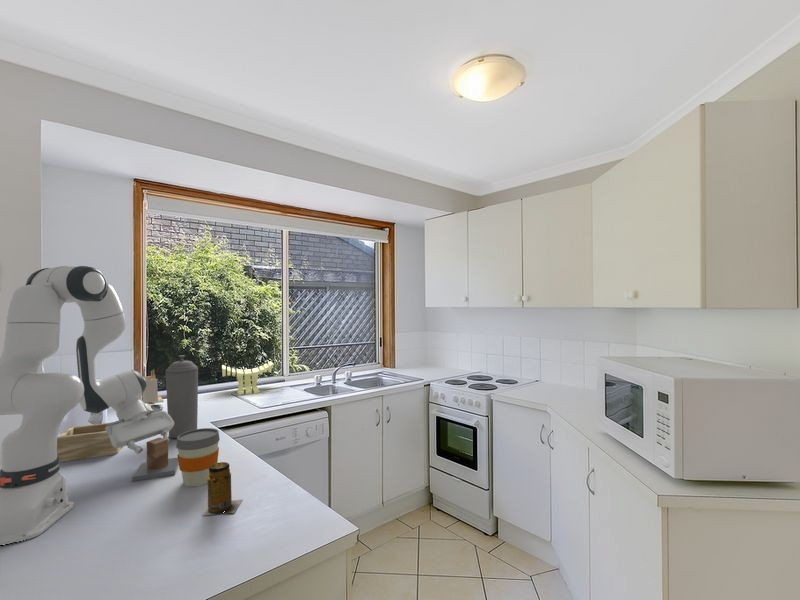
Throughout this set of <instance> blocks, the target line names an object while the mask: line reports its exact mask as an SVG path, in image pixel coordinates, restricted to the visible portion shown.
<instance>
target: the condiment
mask: <svg viewBox="0 0 800 600" xmlns="http://www.w3.org/2000/svg"><path fill="white" fill-rule="evenodd" d="M232 498H233V497H232V473H231V469H230V463H228V462H226V461H225V462H223V461H221V462H217V463H216V464H213V465H211V466H210V467H209V477H208V483H207V508H206V510H205V511H204V512H203V513H202V516H215V515H216V516H217V515H226V514H227V515H228V514H235V513H236V511H237V510H238V509H239V507H240V506H241V503H242V502H243V499H234V500H232ZM224 511H225V512H224ZM223 512H224V513H223Z"/></svg>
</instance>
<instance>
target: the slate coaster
mask: <svg viewBox="0 0 800 600" xmlns="http://www.w3.org/2000/svg"><path fill="white" fill-rule="evenodd" d="M178 468H179V463H178V457H173V458H168V465H167V466H164V467H162V468H160V469H157V470H153V469H148V468H147V461H145V462H141V463H140V464H139V466H138V468H137V469H136V471H135V473H134V474H133V476H132V482H138V481H144V480H150V479H156V478H163V477H169V476H174V475H176V473H177V471H178Z"/></svg>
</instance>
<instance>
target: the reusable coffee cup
mask: <svg viewBox="0 0 800 600" xmlns="http://www.w3.org/2000/svg"><path fill="white" fill-rule="evenodd" d="M220 438H221V437H220V433H219V430H218V429H216V428H211V427H209V428H207V427H204V428H197V429H195V430H191V431H187V432H185V433H182V434H180V435H179V436H178V437H177V438H176V446H175V447H176V449H177V452H178V454H177V457H178V463H179V466H178V468H179V471H181V477H182V482H183V486H185V487H188V486H196V487H200V486H199V485H201V486H204V485H207V484H208V477H209V467H210V466H211V465H213V464H216V463H218V461H219V451H220V447H219V442H220ZM177 457H176V458H177ZM206 483H207V484H206ZM203 484H204V485H203Z"/></svg>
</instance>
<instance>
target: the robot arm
mask: <svg viewBox="0 0 800 600" xmlns="http://www.w3.org/2000/svg"><path fill="white" fill-rule="evenodd" d="M65 303H76V305H77V306H78V307H79V309H80V312H81V317H82V321H83V332H82V334H81V336H79V337H77V339H76V345H75V346H76V347H75V349H76V350H75V351H76V364H77V365H76V366H77V375H78V376H77V375H74V374H68V373H62V372H41V373H38V371H39V367H40V365H42V362H43V361H44V360H46V359H49V358H50V357H52V356H53V355H55V354H56V353H57V351H58V350H59V348H60V332H61V331H60V330H61V309H62V307H63V305H64V304H65ZM126 328H127V319H126V315H125V312H124V308H123V305H122V303H121V300H120V298H119V296H118V294H117V291H116V290H115V289H114V287H113V286H112V285H111V284H109V283H108V281H107V278H106V277H105V275H104V274H103V272H102V271H100V270H99V269H98V268H96V267H92V266H88V265H79V266H74V265H73V266H71V265H69V266H67V265H60V266H55V267H46V268H42V269H39V270H37V271H34V272H33V273H31V274H30V276H29V277H28V278H27V280H26V283H25V285H22V286H20V287H18V288H16V289H15V290H14V292H13V293H12V297H11V299H10V302H9V306H8V310H7V315H6V325H5V335H4V343H3V348H2V352H1V355H0V416H9V415H10V416H12V415H22V419H21V424H20V426H19V427H18V428H17V429H15V430H13V431H12V432H9V434H8V435H6V436H5V438H3V440H2V442H1V469H0V545H3V544H8V543H13V542H17V543H20V542H19V541H21V542H24V541H27V540H30V539H33V538H35V537H38V536H39V535H42V533H43V532H45V531H46V530H47V529H49V528H50V527H51V526H53V524H55V523H57V521H58V520H60V519H61V518H62V517H63V516H65V515H66V514H67V513H68V512H69V511H71V510H72V509H73V508H74V507H75V503H74V502H73V501H69V498H68V489H67V486H68V485H67V480H66V477H64V476H63V475H61V473H60V472H59V471H60V466H61V462H60V461H59V457H57V437H59V429H60V426H61V424H62V422H63V420H64V418H65V417H66V416H67V414H68V413H69V412H70V411H71V410H73V409H74V408H75V407H77V406H78V405H80V407H81V408H82V409H83V411H84V412H88V413H92V414H99V413H101V412H103V411H106V410H107V409H109V408H112V409H113V410H114V411H115V414H116V417H117V419H118V420H116V421H113V422H112V421H111V422H108V423H109V424H108V425H107V426H106V427H105V430H106V432H107V433H108V434H109V437H110V441H111V443H112V445H113V447H115V448H120V447H122V448H124V447H126V446H127V448H129V449H130V450H132V451H134V452H135V454H140V453H142V452H143V451H144V448H143V447H142V445H138V444H135V443H137V442H140V441H144V440H146V439H150V438H153V437H156V436H158V435H160V436H161V437H162V438H165V439H168V443H169V442H170V439H169V431H170V430H171V429H172V428H173V426H174V421H173V419H172V418H171V417H170V415H169V414H168V411H166V410H164V406H163V405H162V404H160V403H155V404H145V403H144V402H143V399H141V396H142V394H143V392H144V390H145V388H146V382H145V380H144V378H143V377H144V376H143V375H142V374H141V373H140V372H139V371H136V370H134V369H129V370H126V371H123V372H120V373H117V374H114V375H112V376H110V377H107V378H103V379H101V380H97V375H96V374H97V373H96V364H95V361H96V357H97V355H98V354H99V352H101V351H102V350H103V349H104V348H105V347H108V345H110V344H112V343H114V342H115V341H116V340H117V339H118V338H120V337H121V336H122V335H123V333H124V332H125V330H126ZM26 539H27V540H26ZM23 540H24V541H23ZM13 544H14V543H13Z"/></svg>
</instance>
